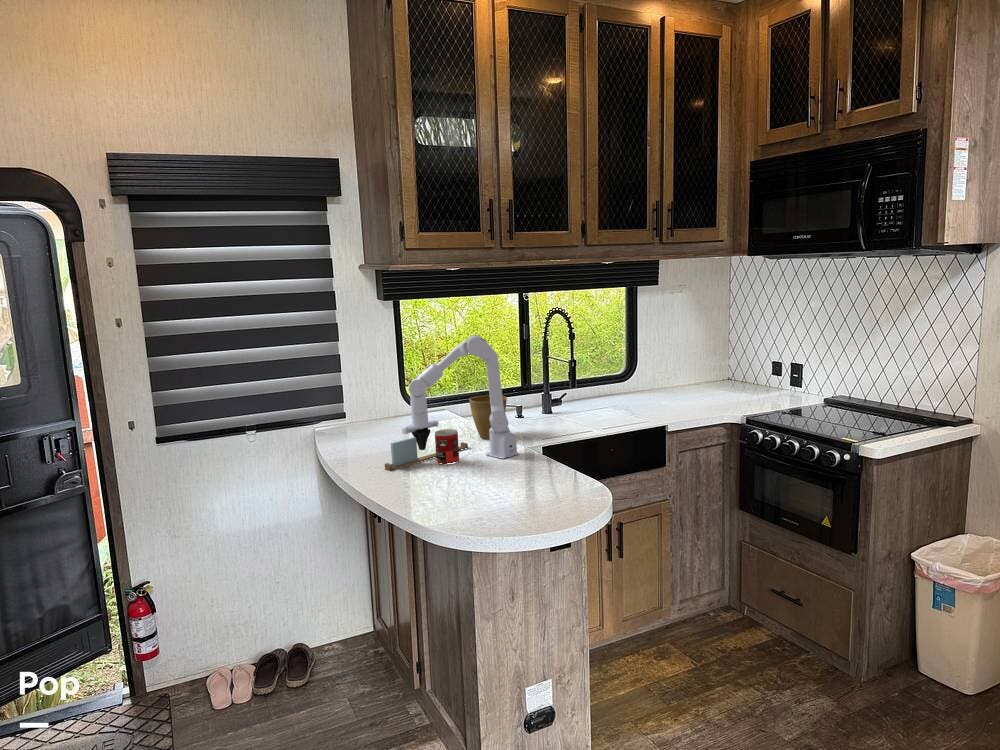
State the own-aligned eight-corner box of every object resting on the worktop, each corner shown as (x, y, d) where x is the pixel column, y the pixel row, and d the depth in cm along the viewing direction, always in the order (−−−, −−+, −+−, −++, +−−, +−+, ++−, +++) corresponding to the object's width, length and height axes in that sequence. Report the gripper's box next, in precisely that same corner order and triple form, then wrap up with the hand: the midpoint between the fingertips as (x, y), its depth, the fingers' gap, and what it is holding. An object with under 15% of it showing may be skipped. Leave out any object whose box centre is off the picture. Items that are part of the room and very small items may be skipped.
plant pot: (485, 444, 265) (483, 403, 263) (464, 438, 277) (461, 398, 274) (516, 437, 274) (514, 397, 271) (494, 431, 285) (492, 393, 283)
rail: (468, 448, 260) (467, 443, 260) (389, 470, 236) (389, 465, 236) (463, 447, 262) (462, 442, 262) (385, 469, 238) (384, 463, 238)
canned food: (434, 461, 245) (431, 431, 244) (455, 457, 248) (453, 427, 247) (440, 466, 238) (438, 435, 237) (462, 462, 241) (460, 432, 240)
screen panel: (418, 459, 245) (416, 437, 244) (395, 466, 238) (393, 443, 237) (415, 458, 246) (413, 437, 245) (391, 465, 240) (389, 442, 238)
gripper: (428, 407, 253) (431, 443, 255) (396, 414, 243) (399, 452, 245) (440, 409, 248) (443, 446, 250) (407, 417, 238) (410, 455, 240)
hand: (422, 449), depth 247 cm, fingers closed
